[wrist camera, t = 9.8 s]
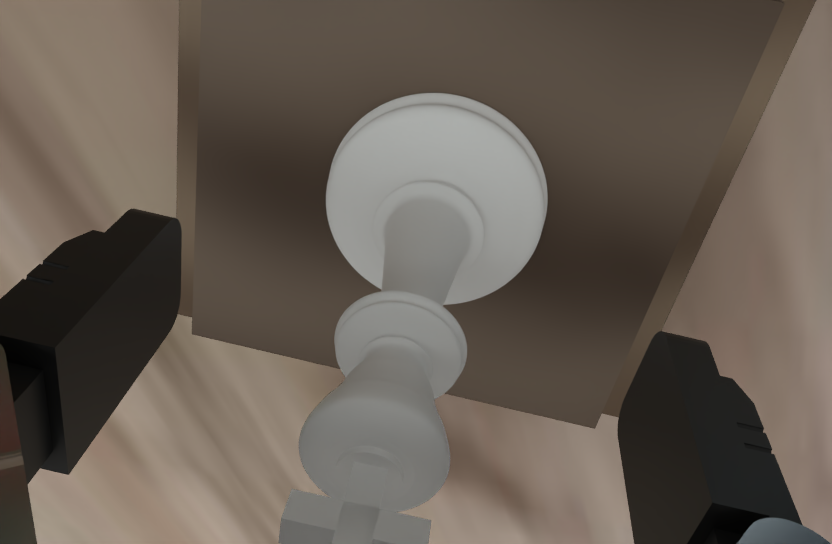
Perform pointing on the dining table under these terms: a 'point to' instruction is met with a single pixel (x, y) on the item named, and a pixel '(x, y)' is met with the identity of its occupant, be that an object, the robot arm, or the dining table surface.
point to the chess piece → (409, 304)
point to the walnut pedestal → (528, 110)
